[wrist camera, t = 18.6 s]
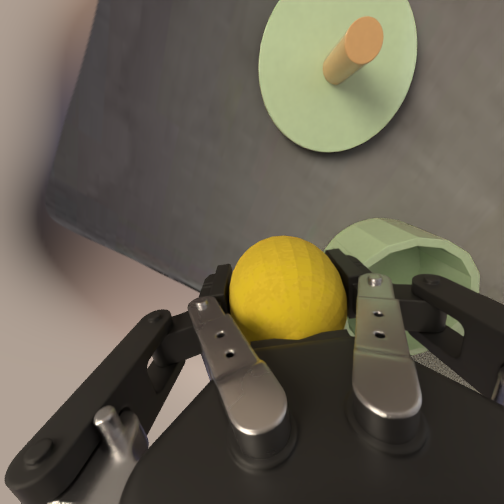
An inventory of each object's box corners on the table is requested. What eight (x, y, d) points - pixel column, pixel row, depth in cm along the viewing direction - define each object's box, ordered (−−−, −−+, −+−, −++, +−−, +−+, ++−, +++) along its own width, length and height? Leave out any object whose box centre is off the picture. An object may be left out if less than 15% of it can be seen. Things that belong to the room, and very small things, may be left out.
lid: (311, -74, 20) (341, -177, 14) (442, 34, 23) (515, -12, 17) (231, 105, 25) (227, 88, 18) (348, 177, 27) (379, 183, 21)
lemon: (274, 312, 17) (293, 429, 10) (216, 261, 16) (186, 353, 8) (336, 261, 16) (412, 352, 8) (278, 200, 15) (309, 246, 7)
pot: (340, 185, 28) (375, 196, 20) (461, 258, 31) (529, 289, 24) (279, 280, 32) (290, 318, 24) (392, 334, 35) (431, 382, 28)
